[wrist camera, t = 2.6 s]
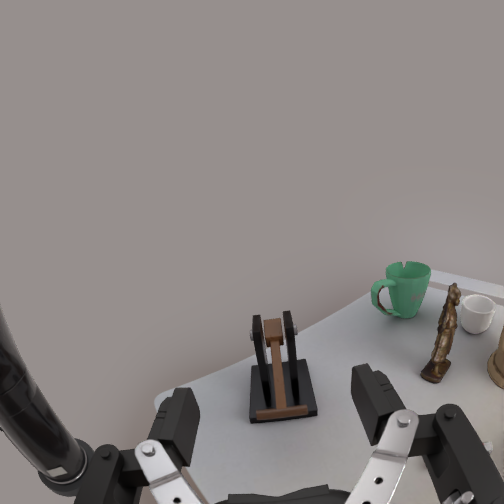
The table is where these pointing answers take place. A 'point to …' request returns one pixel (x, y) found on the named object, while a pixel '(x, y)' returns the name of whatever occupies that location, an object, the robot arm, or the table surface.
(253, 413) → the bracket
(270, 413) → the lever
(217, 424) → the table surface
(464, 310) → the teacup
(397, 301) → the mug
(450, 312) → the figurine
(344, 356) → the table surface
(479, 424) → the table surface
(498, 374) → the lantern
